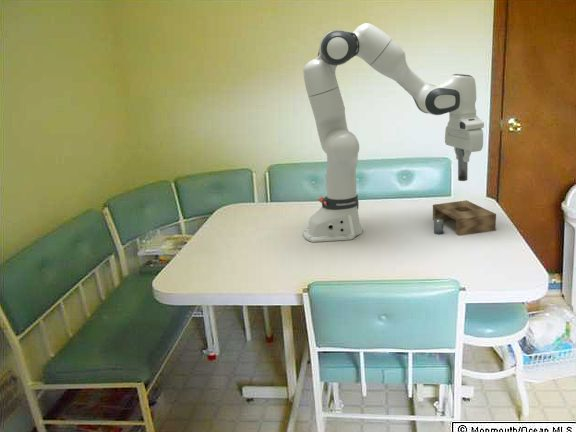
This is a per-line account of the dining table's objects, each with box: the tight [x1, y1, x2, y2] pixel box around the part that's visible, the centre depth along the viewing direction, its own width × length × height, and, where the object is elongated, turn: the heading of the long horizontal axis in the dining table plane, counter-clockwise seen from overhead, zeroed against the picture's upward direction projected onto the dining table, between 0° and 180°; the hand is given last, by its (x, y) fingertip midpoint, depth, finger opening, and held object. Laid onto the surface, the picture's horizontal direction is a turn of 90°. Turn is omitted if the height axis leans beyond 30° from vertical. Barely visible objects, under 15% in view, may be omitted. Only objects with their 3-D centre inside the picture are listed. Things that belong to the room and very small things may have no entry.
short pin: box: [433, 218, 444, 235], centre depth 173 cm, size 3×3×5 cm
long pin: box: [457, 148, 469, 182], centre depth 174 cm, size 3×3×14 cm
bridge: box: [432, 200, 497, 236], centre depth 180 cm, size 14×20×6 cm
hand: (462, 160), depth 174 cm, fingers closed on long pin, 3 cm apart
